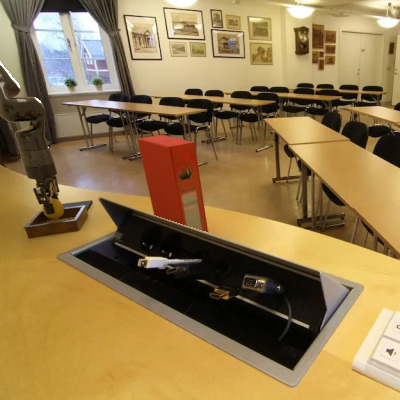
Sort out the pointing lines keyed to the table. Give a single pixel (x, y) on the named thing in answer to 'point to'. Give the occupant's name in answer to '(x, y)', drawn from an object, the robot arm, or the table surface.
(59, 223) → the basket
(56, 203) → the lemon
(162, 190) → the file binder
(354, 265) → the table surface
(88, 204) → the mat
